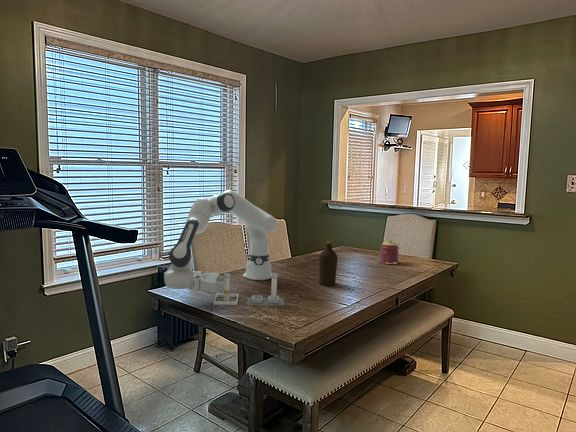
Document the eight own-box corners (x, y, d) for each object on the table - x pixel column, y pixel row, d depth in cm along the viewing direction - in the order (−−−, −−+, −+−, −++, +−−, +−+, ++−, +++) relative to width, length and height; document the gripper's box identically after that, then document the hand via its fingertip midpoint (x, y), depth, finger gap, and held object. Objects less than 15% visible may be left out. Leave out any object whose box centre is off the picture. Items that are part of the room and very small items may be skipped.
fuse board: (247, 299, 221) (247, 293, 221) (283, 299, 223) (283, 294, 222) (246, 306, 210) (246, 300, 209) (284, 307, 211) (284, 301, 210)
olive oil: (330, 287, 248) (332, 244, 246) (314, 284, 254) (316, 241, 252) (339, 284, 257) (341, 241, 254) (323, 280, 263) (325, 239, 260)
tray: (216, 298, 221) (216, 293, 221) (238, 298, 222) (238, 293, 221) (213, 306, 208) (213, 301, 208) (236, 306, 209) (237, 301, 209)
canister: (386, 260, 330) (388, 237, 328) (401, 263, 320) (403, 239, 318) (376, 262, 321) (377, 238, 319) (391, 265, 311) (392, 241, 309)
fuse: (270, 300, 218) (271, 272, 216) (276, 300, 218) (277, 272, 216) (270, 302, 215) (271, 274, 213) (276, 302, 215) (277, 274, 213)
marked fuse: (223, 300, 216) (224, 272, 215) (229, 300, 217) (230, 272, 215) (223, 302, 213) (223, 274, 212) (229, 302, 214) (230, 274, 212)
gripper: (201, 281, 223) (228, 281, 224) (194, 292, 203) (225, 293, 204) (201, 269, 223) (228, 269, 223) (195, 279, 202) (225, 280, 203)
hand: (226, 281), depth 213 cm, fingers open, 8 cm apart
